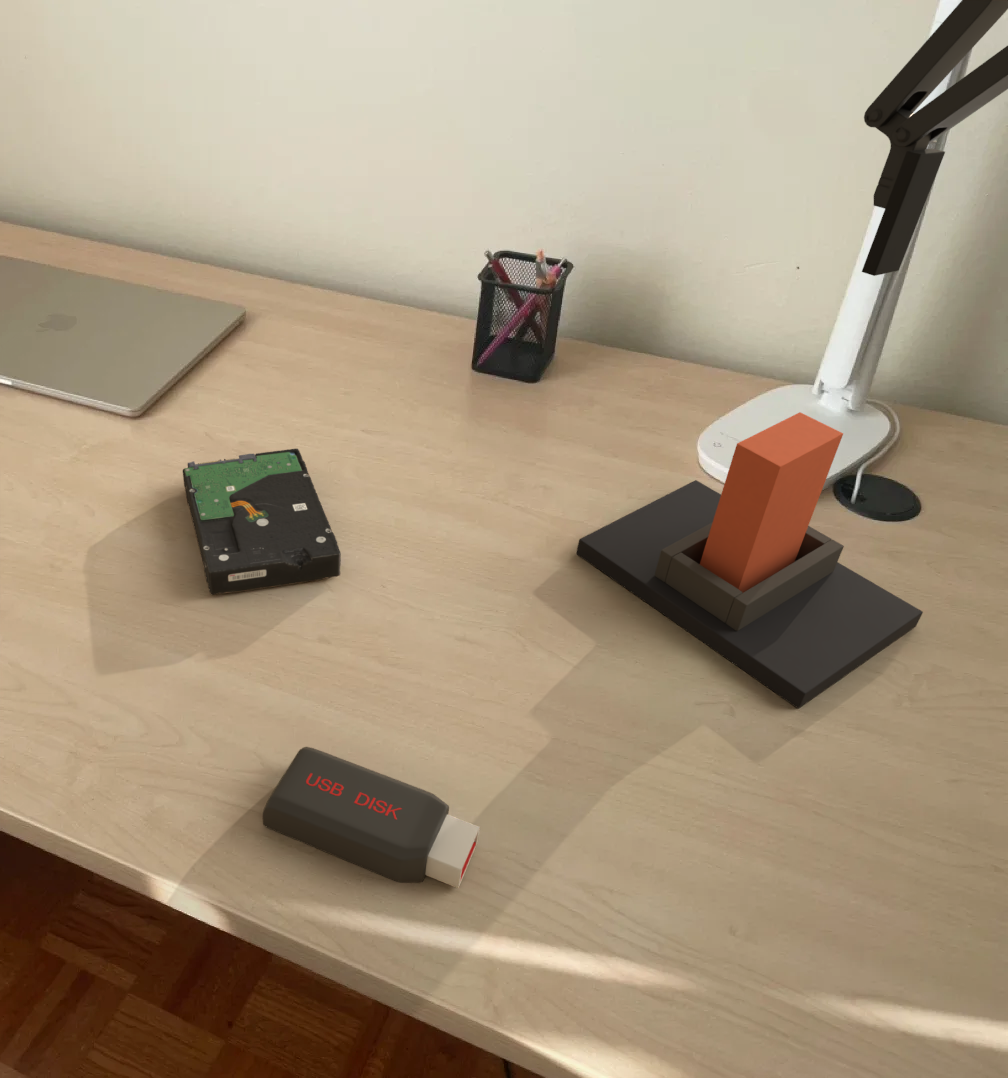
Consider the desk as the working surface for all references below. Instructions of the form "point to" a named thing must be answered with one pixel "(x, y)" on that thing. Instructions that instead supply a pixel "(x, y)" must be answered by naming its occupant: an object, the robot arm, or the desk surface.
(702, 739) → the desk surface
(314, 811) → the usb drive
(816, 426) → the orange rectangular block
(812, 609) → the socket base
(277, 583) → the disk drive
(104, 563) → the desk surface
